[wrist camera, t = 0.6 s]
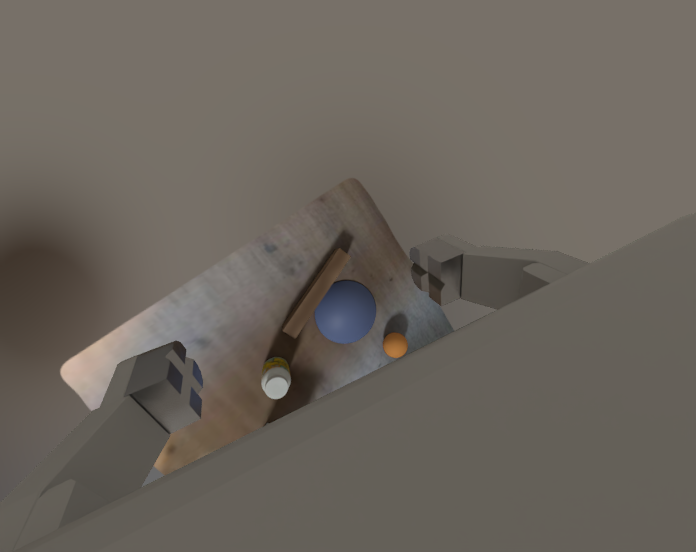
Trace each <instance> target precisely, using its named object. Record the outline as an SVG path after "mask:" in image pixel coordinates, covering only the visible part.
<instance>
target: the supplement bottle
mask: <svg viewBox="0 0 696 552" xmlns="http://www.w3.org/2000/svg"><path fill="white" fill-rule="evenodd" d="M290 384H291V376H290V371H289V366H288V363H287V361H286V360H285V359H283V358H281V357H273V358H271V359H269V360H267V361H266V362H265V364H264V366H263V369H262V388H263V390H264V391H265V393H266V394H267V396H268V397H270V398H272V399H279V398H282V397H283V396H284V395H285V394H286V393H287V391H288V388H289V386H290Z"/></svg>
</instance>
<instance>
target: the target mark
mask: <svg viewBox="0 0 696 552" xmlns="http://www.w3.org/2000/svg"><path fill="white" fill-rule="evenodd" d="M375 316H376V305H375V301H374V298H373V296H372V294H371V293H370V292H369V291H368V289H367V288H365V287H364V286H363V285H361V284H359V283H357V282H354V281H340V282H336V283H334V284H332V285H331V287H330V288H329V290H328V291H327V293H326V294H325V296H324V297H323V299H322V300H321V302H320V303H319V305H318V306H317V308H316V309H315V320H316V323H317V326H318V328H319V330H320V331H321V333H322V334H323V335H324V336H325V337H327V338H328V339H330V340H331V341H334V342H337V343H352V342H355V341H357V340H359V339H361V338H362V337H364V336H365V335H366V334H367V333H368V332H369V330H370V329H371V327H372V325H373V323H374V320H375Z"/></svg>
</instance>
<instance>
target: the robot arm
mask: <svg viewBox="0 0 696 552" xmlns="http://www.w3.org/2000/svg"><path fill="white" fill-rule="evenodd" d="M410 259H411V260H412V261H413V262H414V263H413V265H412V267H411V276H412V279H413V281H414V283H415V285H416V286H417V287H418V288H419V289H420V290H421V291H425V292H429V297H430V298H431V299H433V300H434V301H435V302H436V303H438V304H439V305H440V306H443V305H446V304H448V303H450V302H452V301H455V300H457V299H459V298H461V299H463V300H467V301H470V302H474V303H477V304H480V305H484V306H487V307H490V308H494V309H497V310H496V311H494V312H492V313H490V314H488V315H486V316H484V317H482V318H480V319H478V320H476V321H474V322H472V323H470V324H468V325H466V326H464V327H462V328H460V329H458V330H456V331H454V332H452V333H450V334H448V335H446V336H444V337H442V338H440V339H438V340H436V341H434V342H432V343H430V344H428V345H426V346H424V347H422V348H420V349H418V350H416V351H414V352H412V353H410V354H408V355H406V356H404V357H402V358H400V359H398V360H396V361H394V362H392V363H390V364H388V365H386V366H384V367H382V368H380V369H378V370H376V371H374V372H372V373H370V374H368V375H366V376H364V377H362V378H360V379H358V380H356V381H353V382H351V383H349V384H347V385H345V386H343V387H341V388H339V389H337V390H335V391H333V392H331V393H329V394H327V395H325V396H323V397H321V398H319V399H317V400H315V401H313V402H311V403H309V404H307V405H305V406H303V407H301V408H299V409H297V410H295V411H293V412H291V413H289V414H287V415H285V416H283V417H281V418H279V419H278V420H276V421H274V422H272V423H270V424H268V425H266V426H264V427H262V428H260V429H258V430H256V431H254V432H252V433H250V434H248V435H246V436H244V437H242V438H240V439H238V440H236V441H234V442H232V443H230V444H228V445H226V446H224V447H222V448H220V449H218V450H216V451H214V452H212V453H210V454H208V455H206V456H204V457H202V458H200V459H198V460H196V461H194V462H192V463H190V464H188V465H186V466H184V467H182V468H180V469H177V470H175V471H173V472H171V473H169V474H167V475H165V476H163V477H161V478H159V479H157V480H155V481H153V482H151V483H149V484H147V485H145V486H143V487H141V486H142V484H143V483H144V481H145V479H146V477H147V476H148V474H149V472H150V470H151V469H152V467H153V465H154V463H155V462H156V460H157V458H158V456H159V455H160V453H161V451H162V449H163V448H164V446H165V444H166V442H167V440H168V439H169V437H170V435H169V434H171V433H173V432H175V431H177V430H179V429H181V428H183V427H185V426H187V425H189V424H191V423H193V422H195V421H197V420H199V419H201V407H202V399H201V398H200V397H199V395H198V394H199V392H200V391H201V389H202V388H203V380H202V375H201V371H200V369H199V367H198V365H197V364H196V362H195V361H194V359H190V358H187V357H186V349H185V347H184V346H183V345H182V344H181V342H179V341H174V342H171V343H169V344H166V345H163V346H161V347H158V348H155V349H153V350H150V351H147V352H145V353H142V354H140V355H136V356H134V357H131V358H129V359H126V360H124V361H122V362H120V363H119V364H118V365H117V367H116V370H115V372H114V375H113V377H112V379H111V382H110V384H109V386H108V389H107V391H106V394H105V396H104V398H103V401H102V403H101V406H100V408H98V409H95V410H93V411H92V412H91V413H90V414H89V415H88V416H87V417H86V418H85V419H84V420H83V421H82V422H81V423H80V424H79V425H78V426H77V427H76V428H75V429H74V430H73V431H72V432H71V433H70V434H69V435H68V436H67V437H66V438H65V439H64V440H63V441H62V442H61V443H60V444H59V445H58V446H57V447H56V448H55V449H54V450H53V451H52V452H51V453H50V454H49V455H48V456H47V457H46V458H45V459H44V460H43V461H42V462H41V463H40V464H39V465H38V466H37V467H36V468H35V469H34V470H33V471H32V472H31V473H30V474H29V475H28V476H27V477H26V478H25V479H24V480H23V481H22V482H21V483H20V484H19V485H18V486H16V487H15V488H14V489H13V490H12V492H10V493H9V494H8V495H7V496H6V498H4V499H3V501H1V502H0V552H696V213H695V214H690V215H687V216H684V217H681V218H679V219H677V220H675V221H673V222H671V223H669V224H668V225H666V226H664V227H662V228H660V229H658V230H656V231H654V232H652V233H650V234H648V235H646V236H644V237H642V238H640V239H638V240H636V241H634V242H632V243H630V244H628V245H626V246H624V247H622V248H620V249H618V250H616V251H614V252H612V253H610V254H608V255H606V256H604V257H602V258H600V259H598V260H596V261H594V262H592V263H588V262H585V261H582V260H580V259H577V258H574V257H572V256H569V255H566V254H563V253H561V252H558V251H548V250H533V249H519V248H504V247H490V246H481V247H476V246H474V245H472V244H470V243H468V242H466V241H463V240H461V239H459V238H457V237H454V236H452V235H450V234H443V235H441V236H439V237H436V238H434V239H432V240H429V241H427V242H425V243H423V244H420V245H418V246H416V247H413V248H411V249H410Z"/></svg>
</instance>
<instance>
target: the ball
mask: <svg viewBox="0 0 696 552" xmlns="http://www.w3.org/2000/svg"><path fill="white" fill-rule="evenodd" d="M407 348H408V343H407V340H406V338H405V337H404V336H403V335H402V334H400V333H390V334H388V335H387V336H386V337H385V339H384V341H383V349H384V351H385V352H386V354H387V355H389V356H390V357H393V358H398V357H401V356H403V355H404V354H405V353H406V351H407Z"/></svg>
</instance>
